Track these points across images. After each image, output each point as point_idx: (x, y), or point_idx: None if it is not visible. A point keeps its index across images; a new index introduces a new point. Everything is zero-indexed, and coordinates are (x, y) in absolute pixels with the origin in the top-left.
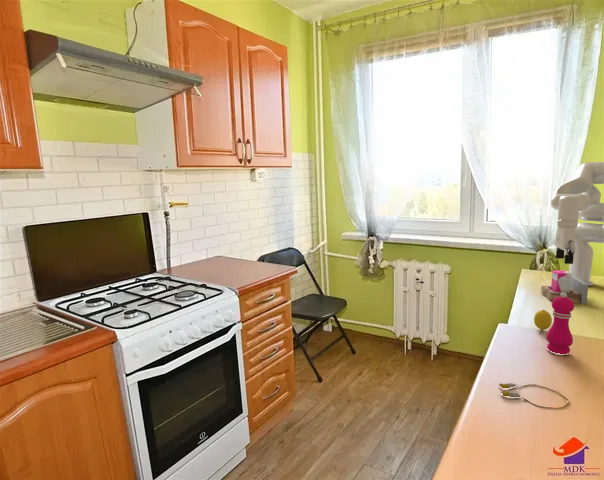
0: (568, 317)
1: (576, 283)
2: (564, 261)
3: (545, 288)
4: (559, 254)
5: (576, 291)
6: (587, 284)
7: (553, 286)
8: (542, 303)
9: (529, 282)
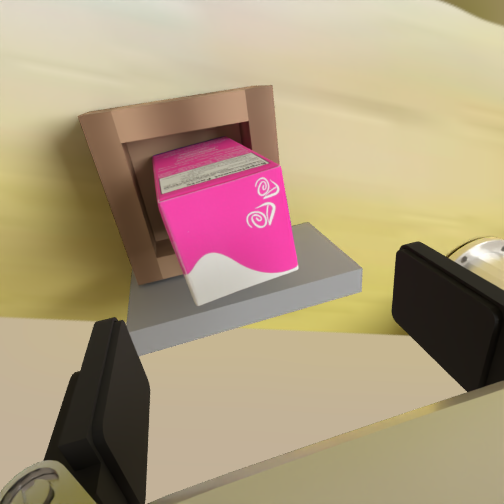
0: None
1: None
2: (104, 333)
3: (201, 96)
4: (433, 304)
5: None
6: None
7: (202, 152)
8: (16, 46)
9: (490, 63)
